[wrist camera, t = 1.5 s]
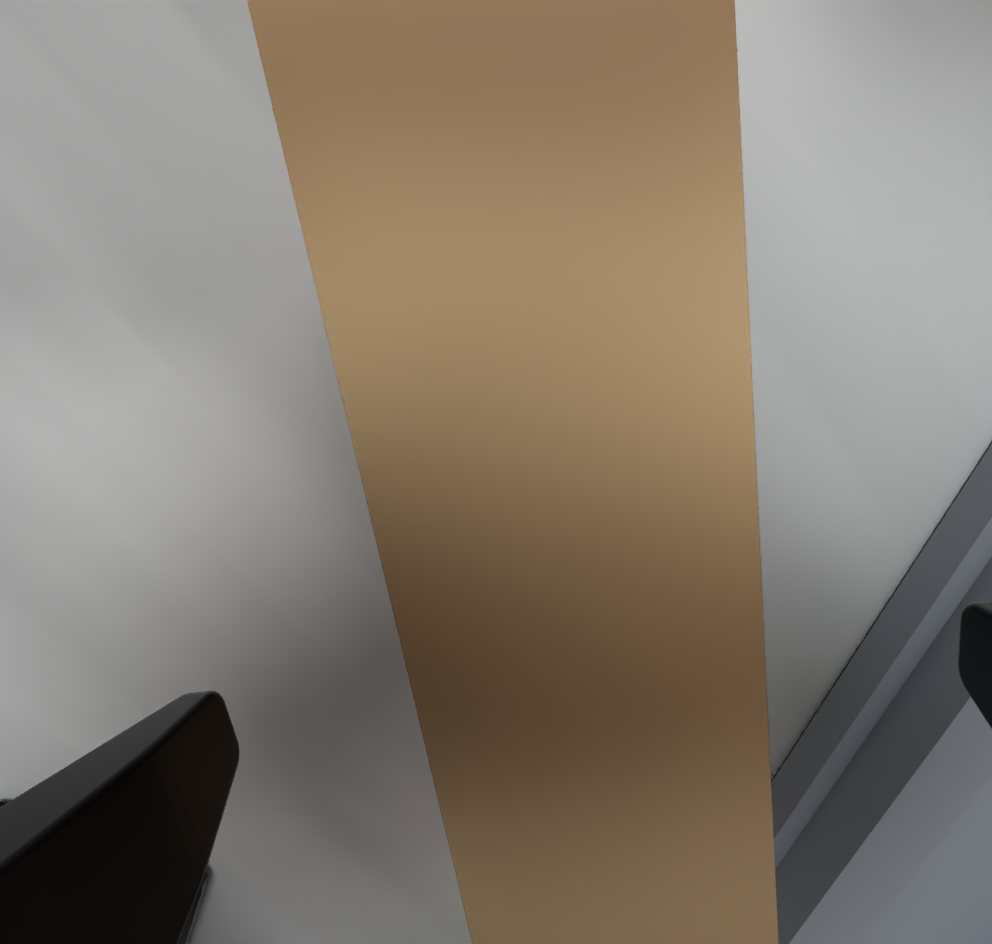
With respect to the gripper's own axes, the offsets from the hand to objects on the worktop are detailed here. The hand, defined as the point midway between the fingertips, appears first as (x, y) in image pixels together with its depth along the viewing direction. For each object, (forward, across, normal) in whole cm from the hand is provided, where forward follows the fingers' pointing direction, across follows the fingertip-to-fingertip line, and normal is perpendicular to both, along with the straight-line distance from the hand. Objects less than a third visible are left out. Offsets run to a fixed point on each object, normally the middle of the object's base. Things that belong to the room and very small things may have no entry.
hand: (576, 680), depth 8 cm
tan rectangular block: (+8, 0, 0) cm, 8 cm away
